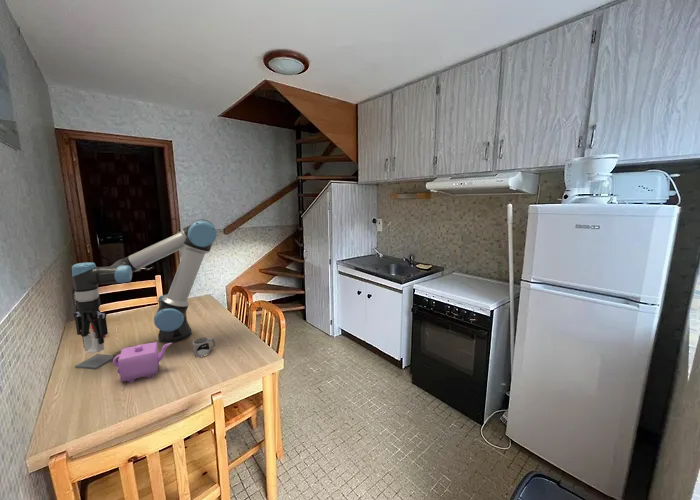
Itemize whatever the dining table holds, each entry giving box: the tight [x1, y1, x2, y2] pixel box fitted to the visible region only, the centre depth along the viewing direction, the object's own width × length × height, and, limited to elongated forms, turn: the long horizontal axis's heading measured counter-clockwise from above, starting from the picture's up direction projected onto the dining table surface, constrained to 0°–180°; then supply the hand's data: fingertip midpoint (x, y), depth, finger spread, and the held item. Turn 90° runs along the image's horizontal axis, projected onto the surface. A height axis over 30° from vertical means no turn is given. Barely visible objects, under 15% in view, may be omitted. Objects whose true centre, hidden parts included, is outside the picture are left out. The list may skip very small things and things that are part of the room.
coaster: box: [74, 353, 113, 370], centre depth 129 cm, size 10×10×1 cm
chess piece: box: [86, 328, 98, 354], centre depth 127 cm, size 5×5×10 cm
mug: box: [192, 337, 216, 358], centre depth 137 cm, size 10×7×7 cm, turn 143°
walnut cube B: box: [112, 350, 122, 363], centre depth 129 cm, size 4×4×4 cm
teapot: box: [112, 341, 173, 384], centre depth 120 cm, size 20×10×12 cm, turn 120°
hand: (94, 350), depth 128 cm, fingers closed on chess piece, 5 cm apart
